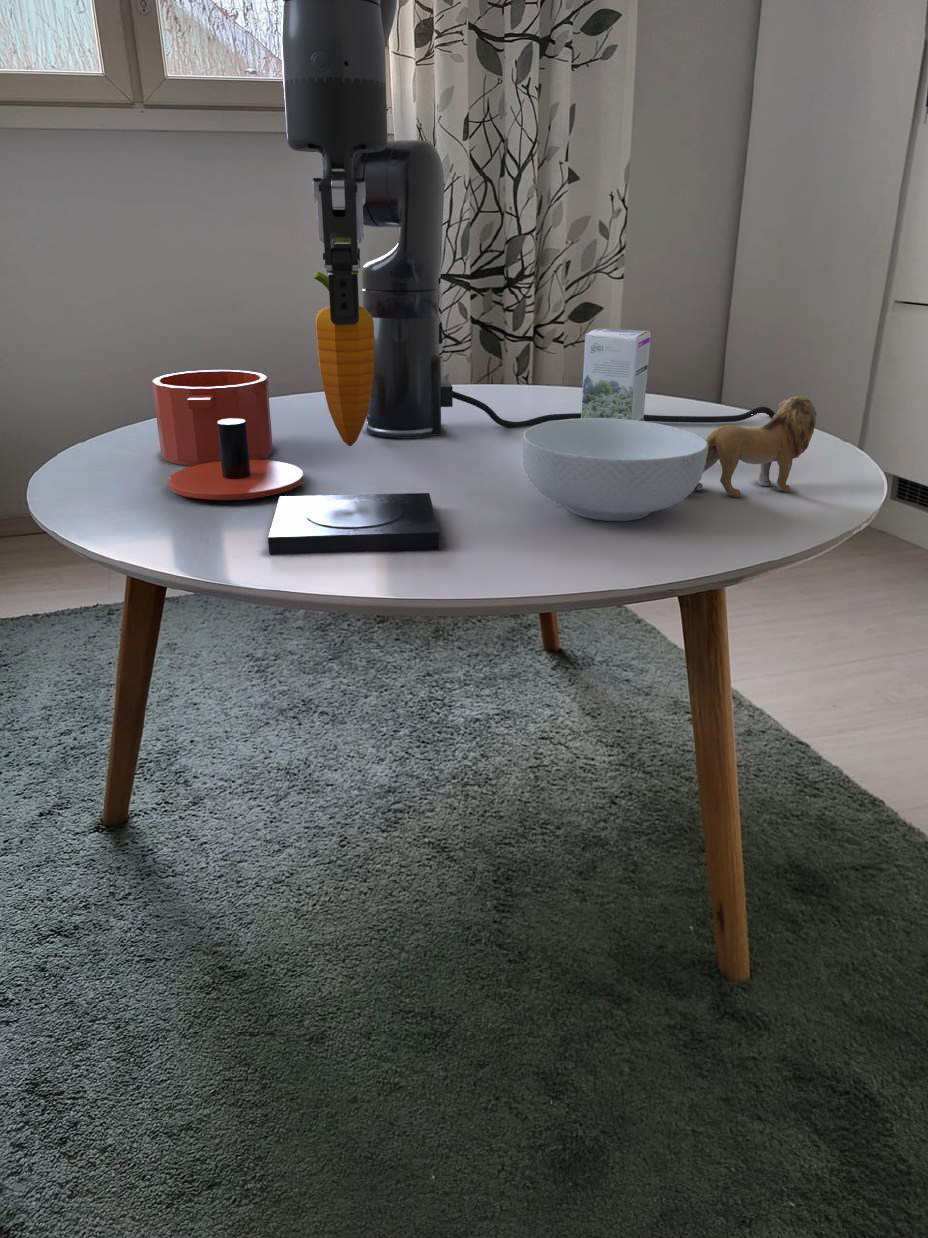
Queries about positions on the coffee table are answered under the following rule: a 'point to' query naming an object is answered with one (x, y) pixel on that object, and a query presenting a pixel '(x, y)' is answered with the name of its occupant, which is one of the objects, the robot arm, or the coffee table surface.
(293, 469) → the pot lid
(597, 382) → the syrup box
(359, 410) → the carrot
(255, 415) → the pot
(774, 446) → the lion figurine
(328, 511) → the hob plate
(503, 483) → the coffee table surface
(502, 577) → the coffee table surface
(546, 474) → the cereal bowl
